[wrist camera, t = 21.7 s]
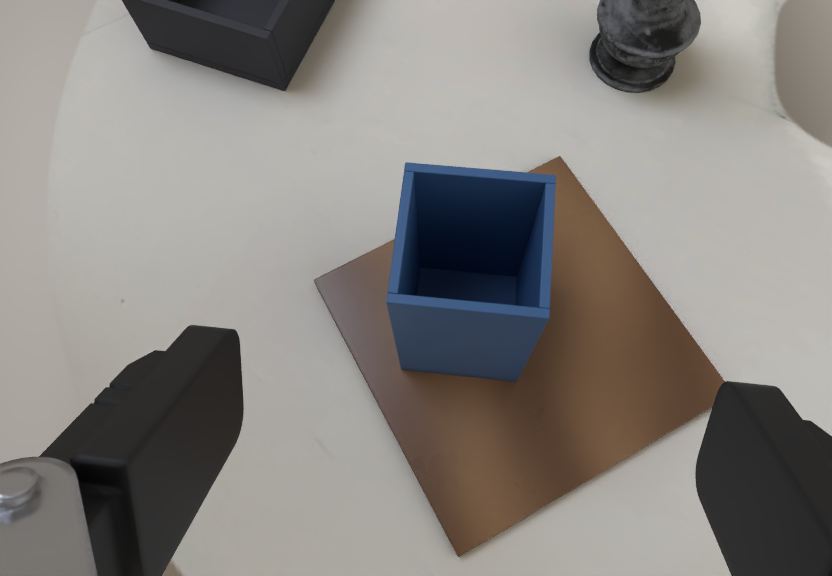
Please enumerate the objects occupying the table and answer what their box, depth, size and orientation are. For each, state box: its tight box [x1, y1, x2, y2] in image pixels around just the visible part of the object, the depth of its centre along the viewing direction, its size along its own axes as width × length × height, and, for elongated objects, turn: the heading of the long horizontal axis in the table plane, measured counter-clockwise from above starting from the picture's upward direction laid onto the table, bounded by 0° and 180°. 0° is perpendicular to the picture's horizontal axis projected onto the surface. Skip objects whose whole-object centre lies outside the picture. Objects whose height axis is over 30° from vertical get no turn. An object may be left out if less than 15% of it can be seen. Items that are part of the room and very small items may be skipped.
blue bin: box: [386, 163, 556, 382], centre depth 30 cm, size 6×6×10 cm
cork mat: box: [314, 156, 725, 557], centre depth 35 cm, size 16×16×1 cm
